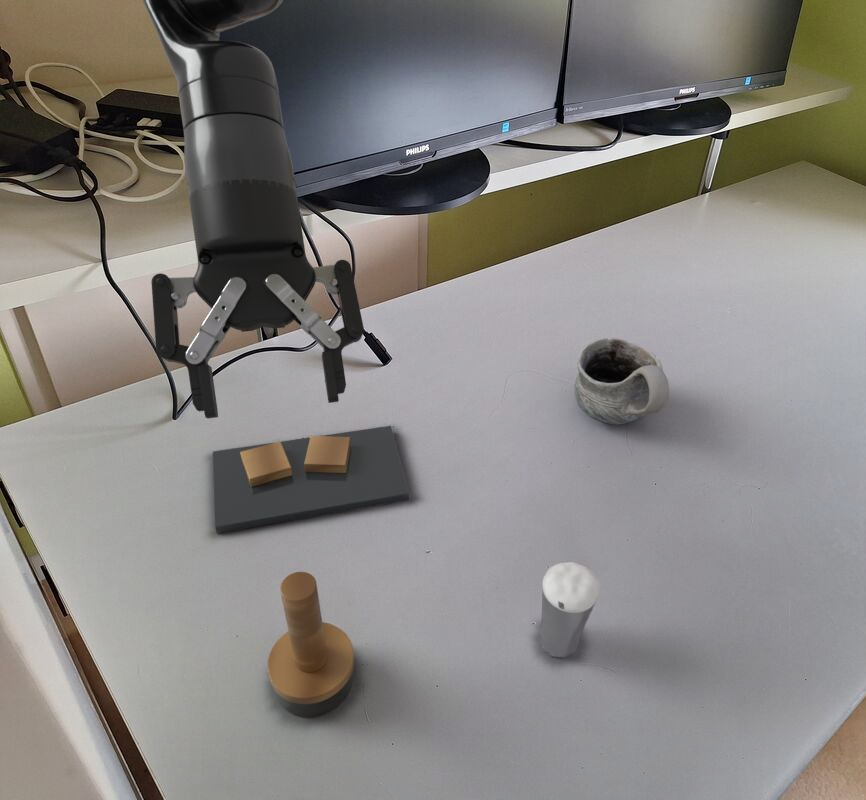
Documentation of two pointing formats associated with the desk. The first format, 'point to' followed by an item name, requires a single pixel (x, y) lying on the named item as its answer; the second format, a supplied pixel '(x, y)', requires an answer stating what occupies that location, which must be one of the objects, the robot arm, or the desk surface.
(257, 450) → the chip
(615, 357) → the mug
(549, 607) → the milkshake
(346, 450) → the chip
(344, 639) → the brush
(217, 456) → the tile
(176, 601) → the desk surface
